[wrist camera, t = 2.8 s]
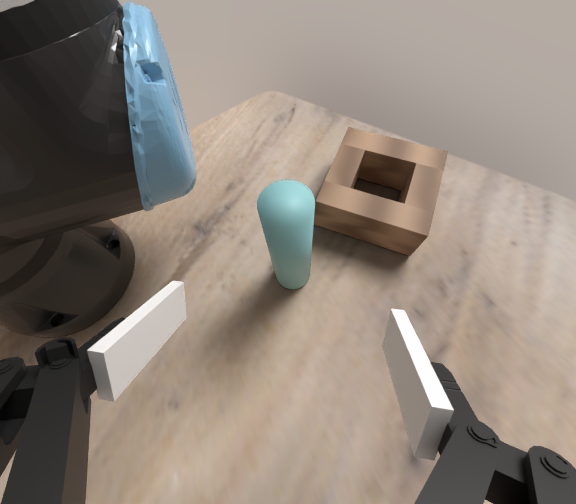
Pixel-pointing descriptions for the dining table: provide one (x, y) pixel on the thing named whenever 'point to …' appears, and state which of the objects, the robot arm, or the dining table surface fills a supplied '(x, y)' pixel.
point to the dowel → (288, 230)
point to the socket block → (389, 172)
